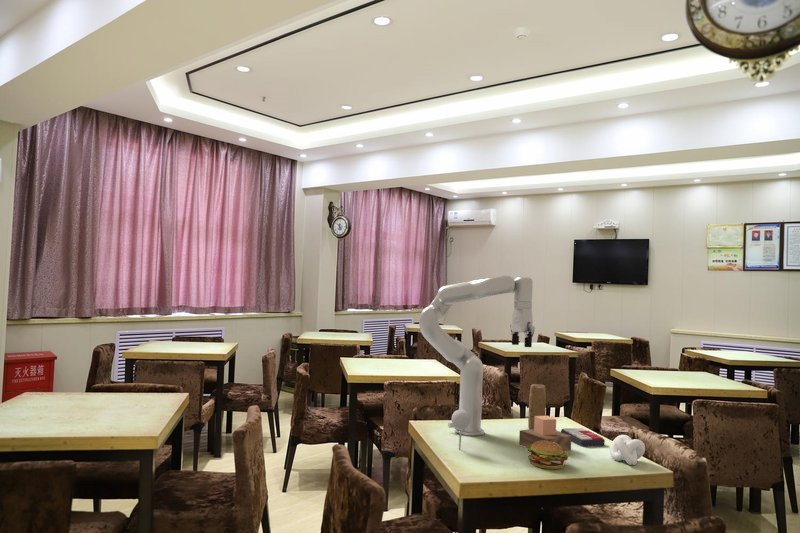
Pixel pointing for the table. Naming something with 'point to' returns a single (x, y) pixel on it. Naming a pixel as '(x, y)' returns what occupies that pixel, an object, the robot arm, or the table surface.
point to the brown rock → (536, 403)
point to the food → (547, 455)
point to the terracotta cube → (545, 425)
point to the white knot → (627, 449)
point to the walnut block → (544, 438)
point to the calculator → (583, 437)
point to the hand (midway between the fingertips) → (521, 345)
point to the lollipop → (460, 421)
